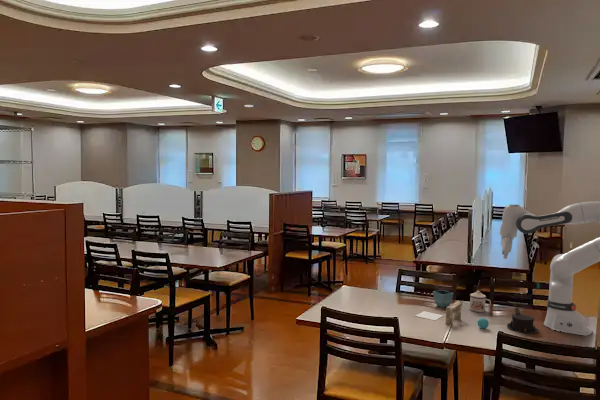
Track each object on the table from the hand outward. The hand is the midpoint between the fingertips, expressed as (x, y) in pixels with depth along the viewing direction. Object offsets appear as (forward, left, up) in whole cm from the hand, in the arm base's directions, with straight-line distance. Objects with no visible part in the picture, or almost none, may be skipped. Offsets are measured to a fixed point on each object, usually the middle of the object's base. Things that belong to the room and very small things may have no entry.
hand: (504, 256), depth 261 cm
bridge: (+18, +26, -36) cm, 47 cm away
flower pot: (+34, +2, -36) cm, 49 cm away
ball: (+2, +26, -33) cm, 42 cm away
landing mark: (+32, +26, -36) cm, 54 cm away
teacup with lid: (+14, -6, -36) cm, 39 cm away
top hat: (-14, +12, -36) cm, 41 cm away
